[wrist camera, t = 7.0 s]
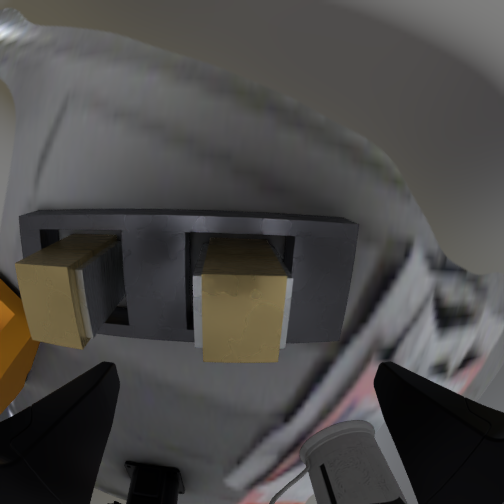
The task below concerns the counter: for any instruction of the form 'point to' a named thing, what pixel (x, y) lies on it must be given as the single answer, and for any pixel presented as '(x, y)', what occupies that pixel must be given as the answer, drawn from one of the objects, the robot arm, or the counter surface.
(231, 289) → the gold metal block
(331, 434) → the glass holder
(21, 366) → the bracket
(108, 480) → the counter surface
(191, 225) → the tray
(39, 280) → the tan-capped ribbed block
